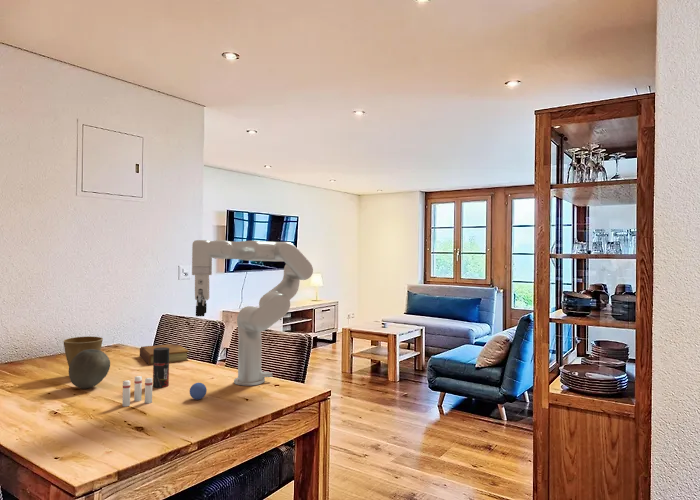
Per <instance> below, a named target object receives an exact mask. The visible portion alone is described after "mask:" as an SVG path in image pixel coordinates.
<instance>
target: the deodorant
mask: <svg viewBox="0 0 700 500" xmlns="http://www.w3.org/2000/svg"><path fill="white" fill-rule="evenodd" d="M152 366H153V367H152V369H153V370H152V374H153V375H152V388H154V389H161V388H163V389H164V388H167V387H169V385H170V383H169V381H170V380H169V379H170V363H169V348H166V347H161V348H155V349H154V352H153V365H152Z"/></svg>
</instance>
